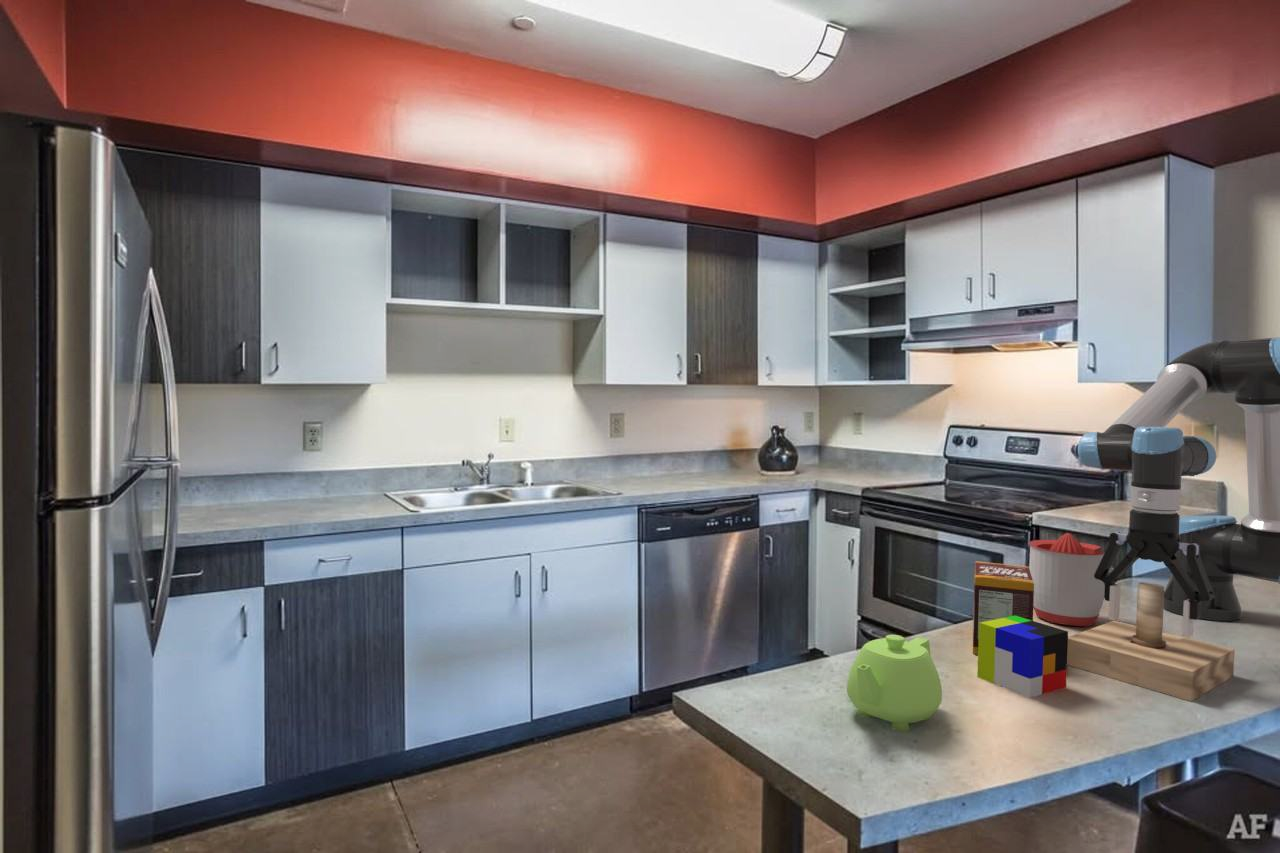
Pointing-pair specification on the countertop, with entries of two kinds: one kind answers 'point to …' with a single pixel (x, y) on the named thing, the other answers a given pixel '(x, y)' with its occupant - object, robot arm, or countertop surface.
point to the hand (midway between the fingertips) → (1149, 627)
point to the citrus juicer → (1066, 580)
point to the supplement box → (1001, 594)
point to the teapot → (895, 681)
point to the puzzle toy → (1022, 655)
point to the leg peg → (1149, 616)
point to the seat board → (1152, 660)
